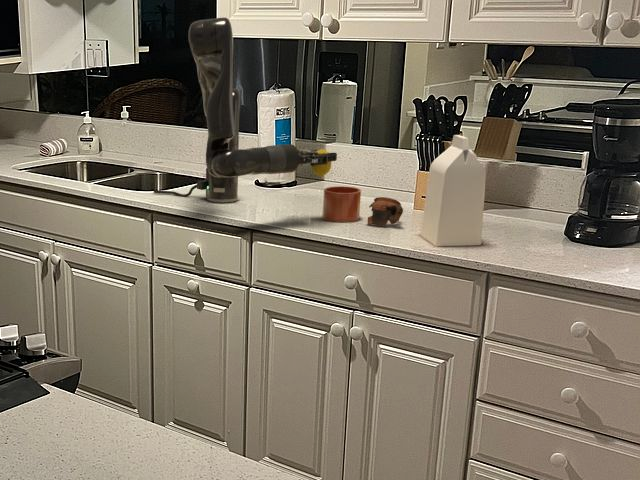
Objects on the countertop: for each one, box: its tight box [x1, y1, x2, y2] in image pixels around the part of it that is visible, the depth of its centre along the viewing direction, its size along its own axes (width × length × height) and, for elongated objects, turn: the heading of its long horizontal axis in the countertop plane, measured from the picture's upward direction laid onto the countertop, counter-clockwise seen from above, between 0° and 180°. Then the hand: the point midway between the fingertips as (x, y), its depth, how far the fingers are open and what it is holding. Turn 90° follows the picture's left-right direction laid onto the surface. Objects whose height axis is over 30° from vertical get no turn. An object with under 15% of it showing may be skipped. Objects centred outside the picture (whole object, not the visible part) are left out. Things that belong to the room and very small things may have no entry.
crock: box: [321, 185, 362, 223], centre depth 263 cm, size 10×10×8 cm
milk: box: [419, 134, 487, 247], centre depth 235 cm, size 12×12×26 cm
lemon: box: [310, 148, 332, 178], centre depth 257 cm, size 6×6×8 cm
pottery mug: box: [367, 196, 404, 228], centre depth 256 cm, size 12×10×8 cm
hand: (329, 155), depth 258 cm, fingers closed on lemon, 5 cm apart
